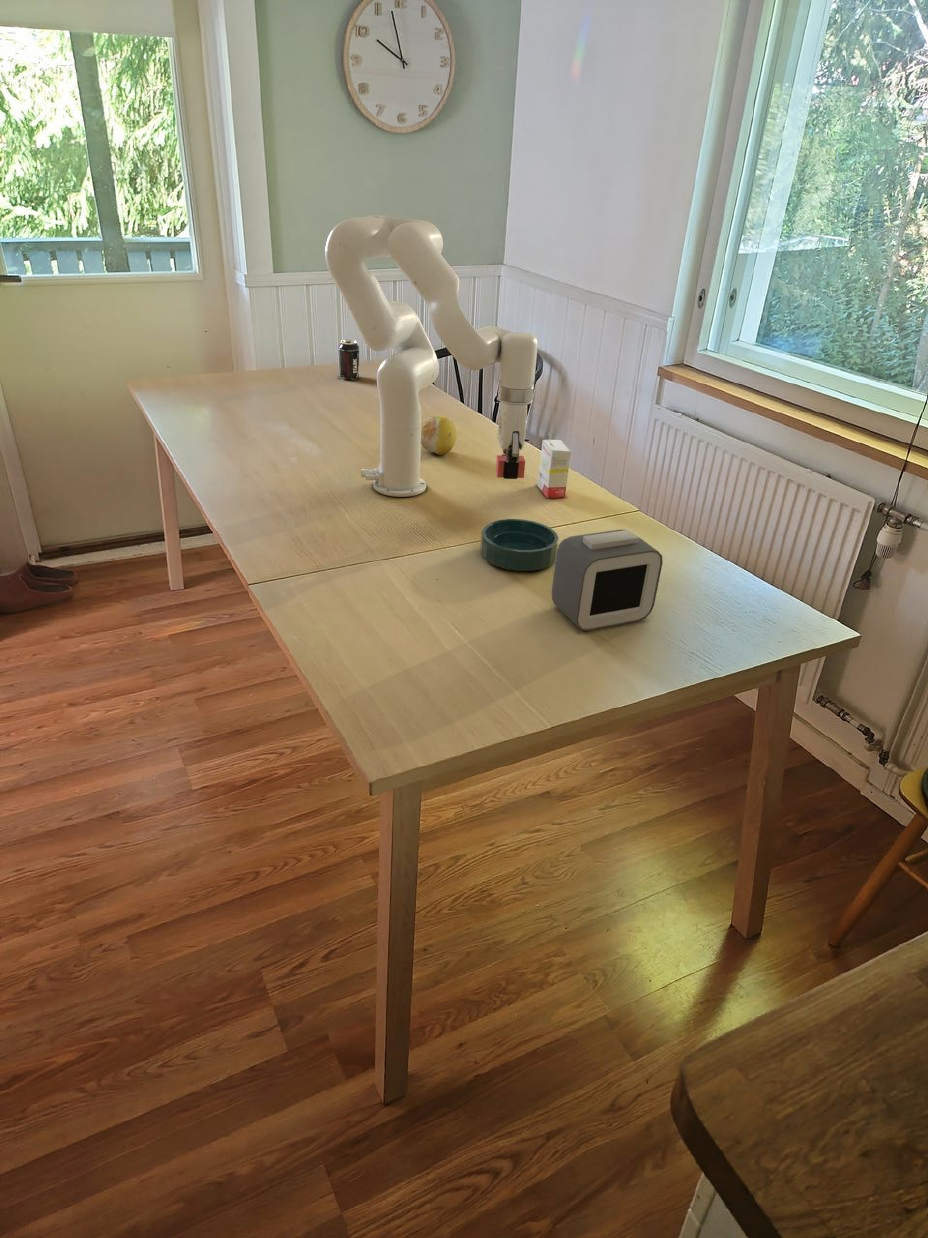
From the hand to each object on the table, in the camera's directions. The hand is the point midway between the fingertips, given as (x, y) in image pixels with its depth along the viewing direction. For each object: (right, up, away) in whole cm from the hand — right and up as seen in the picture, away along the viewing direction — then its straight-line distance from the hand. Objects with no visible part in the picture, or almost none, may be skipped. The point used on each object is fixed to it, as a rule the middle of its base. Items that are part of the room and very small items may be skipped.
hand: (509, 474), depth 188 cm
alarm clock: (+15, -31, -32) cm, 47 cm away
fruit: (-18, +12, +36) cm, 42 cm away
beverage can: (-49, +48, +94) cm, 117 cm away
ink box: (+11, -1, +17) cm, 21 cm away
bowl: (+1, -20, -15) cm, 25 cm away
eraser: (0, 0, 0) cm, 0 cm away
